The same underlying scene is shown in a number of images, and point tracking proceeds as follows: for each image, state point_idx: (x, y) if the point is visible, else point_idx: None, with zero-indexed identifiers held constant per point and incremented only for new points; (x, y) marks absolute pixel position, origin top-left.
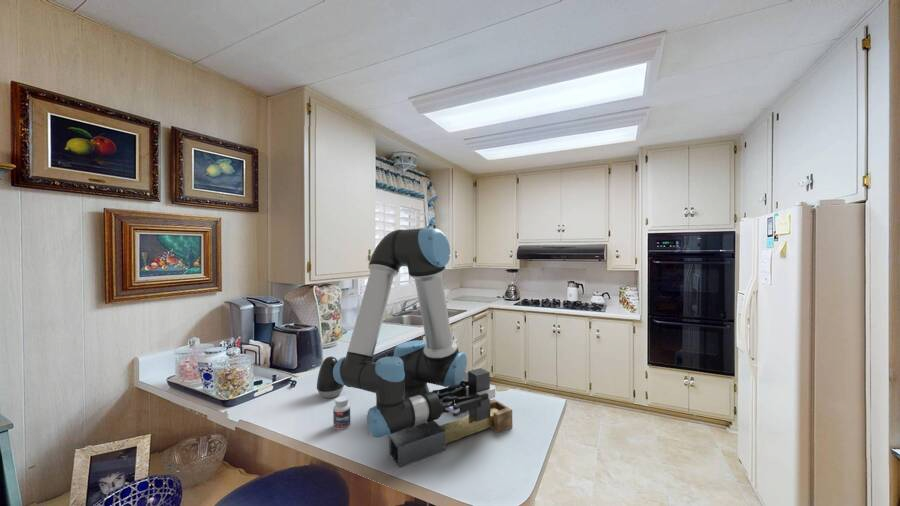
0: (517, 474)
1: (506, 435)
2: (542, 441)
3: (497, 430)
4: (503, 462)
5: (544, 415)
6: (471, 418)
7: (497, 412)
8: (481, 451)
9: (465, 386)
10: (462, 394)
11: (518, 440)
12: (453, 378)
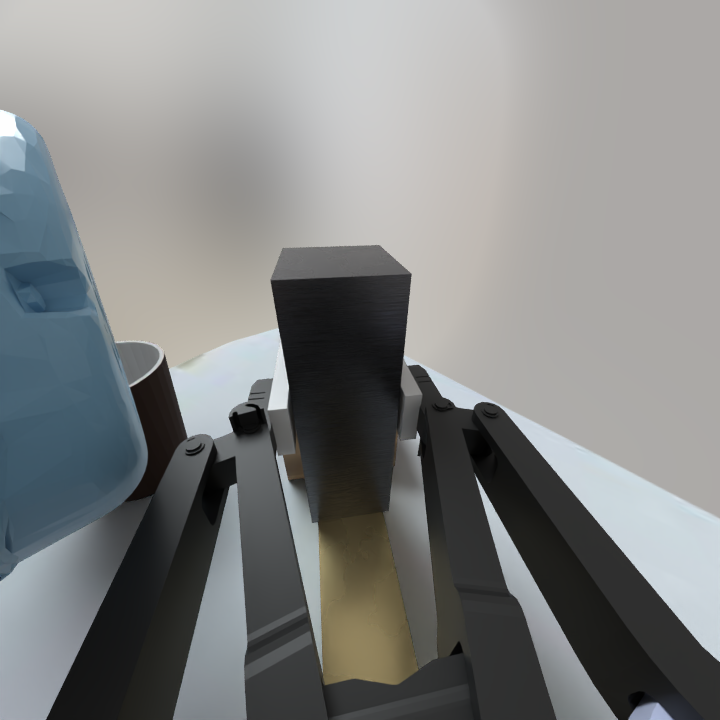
0: (662, 528)
1: (417, 450)
2: (466, 395)
3: (394, 460)
4: None
5: None
6: (347, 524)
7: None
8: (516, 594)
9: None
10: (280, 479)
11: None
12: (129, 436)
